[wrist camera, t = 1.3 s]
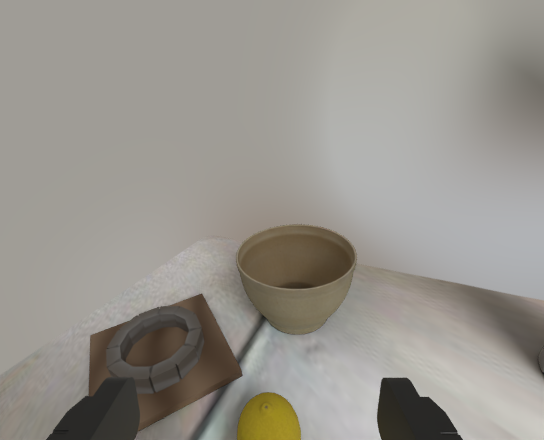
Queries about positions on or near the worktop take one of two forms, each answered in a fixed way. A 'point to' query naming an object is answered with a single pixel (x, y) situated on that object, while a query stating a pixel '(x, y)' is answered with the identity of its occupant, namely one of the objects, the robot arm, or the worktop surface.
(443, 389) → the worktop surface
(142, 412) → the stand
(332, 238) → the planter bowl
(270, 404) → the lemon
